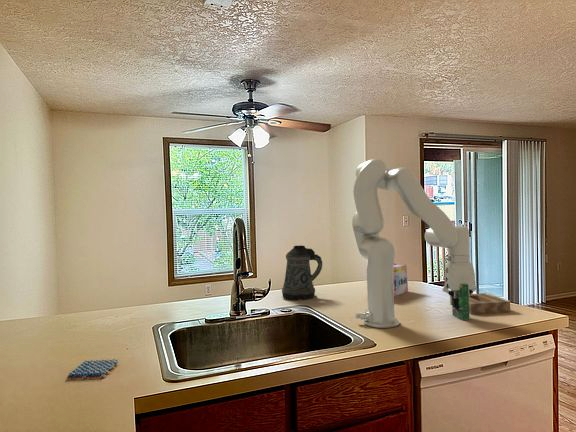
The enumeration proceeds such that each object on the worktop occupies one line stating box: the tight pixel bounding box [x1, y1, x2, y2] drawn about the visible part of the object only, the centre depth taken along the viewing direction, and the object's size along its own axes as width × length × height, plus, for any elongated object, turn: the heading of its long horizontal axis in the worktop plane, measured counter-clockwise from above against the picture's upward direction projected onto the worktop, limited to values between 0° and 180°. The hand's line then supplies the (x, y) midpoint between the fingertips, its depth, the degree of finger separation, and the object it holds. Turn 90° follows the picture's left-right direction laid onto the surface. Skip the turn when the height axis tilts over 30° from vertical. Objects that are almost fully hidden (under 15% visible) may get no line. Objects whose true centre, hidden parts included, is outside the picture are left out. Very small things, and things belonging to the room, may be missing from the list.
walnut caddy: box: [449, 292, 511, 315], centre depth 160 cm, size 16×16×4 cm
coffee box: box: [451, 284, 470, 321], centre depth 148 cm, size 8×3×13 cm, turn 6°
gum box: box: [393, 263, 409, 297], centre depth 191 cm, size 24×8×14 cm, turn 135°
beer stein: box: [281, 245, 323, 301], centre depth 193 cm, size 16×19×25 cm
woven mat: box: [66, 358, 119, 381], centre depth 109 cm, size 10×11×2 cm
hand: (460, 307), depth 148 cm, fingers closed on coffee box, 3 cm apart
